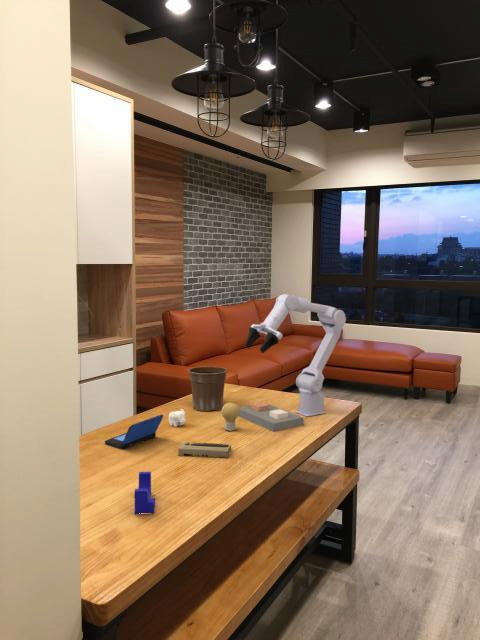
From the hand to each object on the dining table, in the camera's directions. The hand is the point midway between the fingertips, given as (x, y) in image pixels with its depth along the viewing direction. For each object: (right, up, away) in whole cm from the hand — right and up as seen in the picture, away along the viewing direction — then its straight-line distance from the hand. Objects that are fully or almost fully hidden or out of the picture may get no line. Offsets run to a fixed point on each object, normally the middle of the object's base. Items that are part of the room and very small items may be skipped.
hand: (254, 349), depth 195 cm
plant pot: (-19, -26, +27) cm, 42 cm away
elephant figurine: (-29, -29, +2) cm, 41 cm away
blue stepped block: (-29, -36, -61) cm, 76 cm away
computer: (-16, -32, -25) cm, 44 cm away
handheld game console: (-41, -31, -16) cm, 53 cm away
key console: (+6, -28, +9) cm, 30 cm away
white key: (+9, -27, +4) cm, 29 cm away
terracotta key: (+3, -25, +14) cm, 29 cm away
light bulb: (-9, -29, -3) cm, 31 cm away
